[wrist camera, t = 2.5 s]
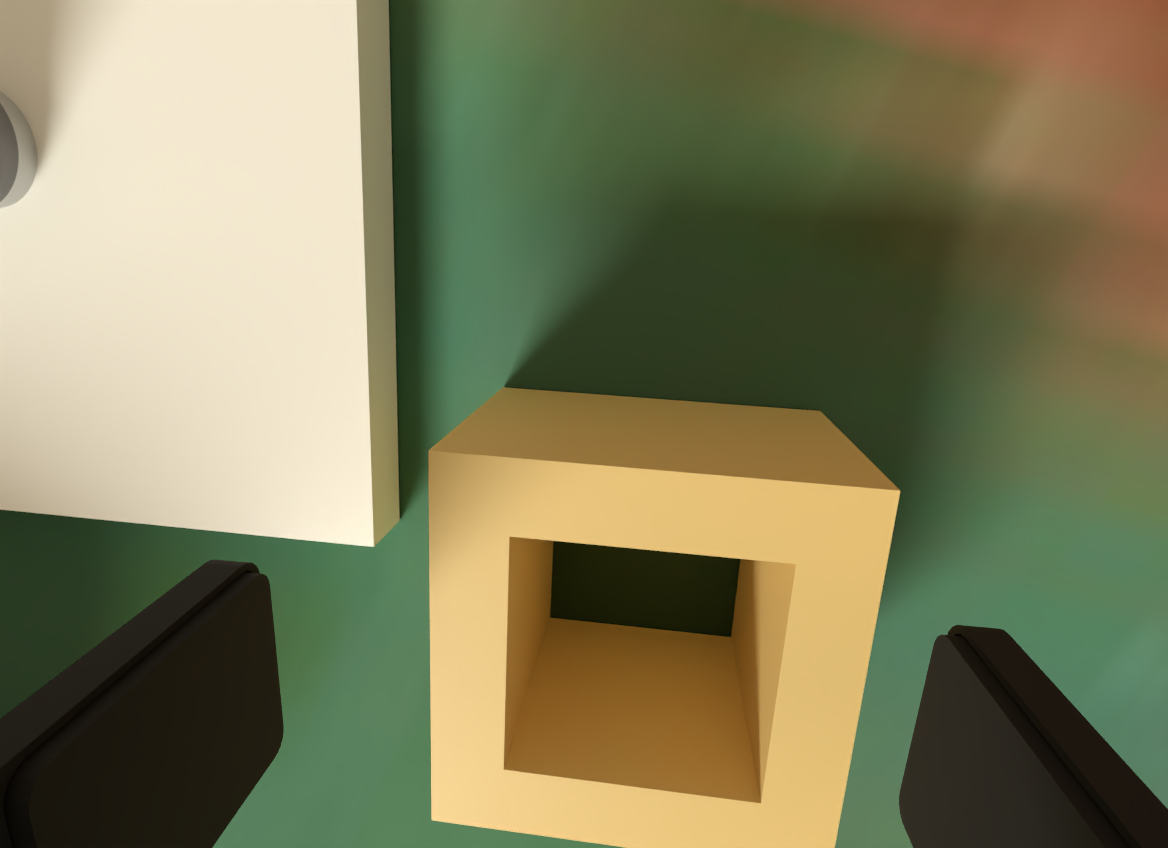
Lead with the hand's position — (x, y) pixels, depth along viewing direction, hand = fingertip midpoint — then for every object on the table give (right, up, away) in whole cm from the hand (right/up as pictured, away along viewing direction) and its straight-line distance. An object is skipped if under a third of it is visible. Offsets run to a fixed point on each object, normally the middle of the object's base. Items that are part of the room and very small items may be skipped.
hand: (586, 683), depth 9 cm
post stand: (-12, +10, +6) cm, 16 cm away
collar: (+1, +1, +6) cm, 7 cm away
